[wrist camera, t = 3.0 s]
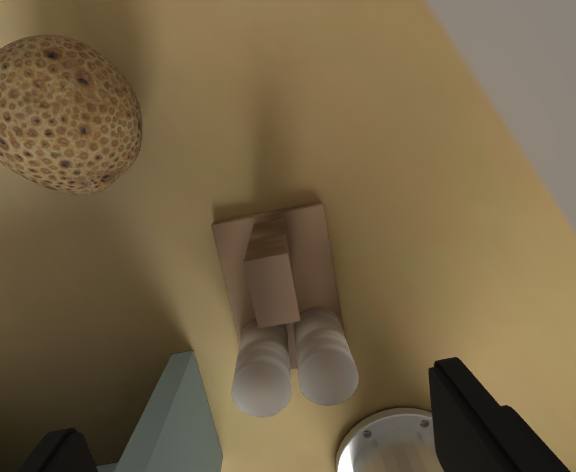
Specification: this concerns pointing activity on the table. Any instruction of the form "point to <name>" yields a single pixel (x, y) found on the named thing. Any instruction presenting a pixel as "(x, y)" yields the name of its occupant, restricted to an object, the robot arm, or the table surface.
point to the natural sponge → (65, 115)
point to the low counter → (174, 426)
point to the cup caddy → (284, 309)
